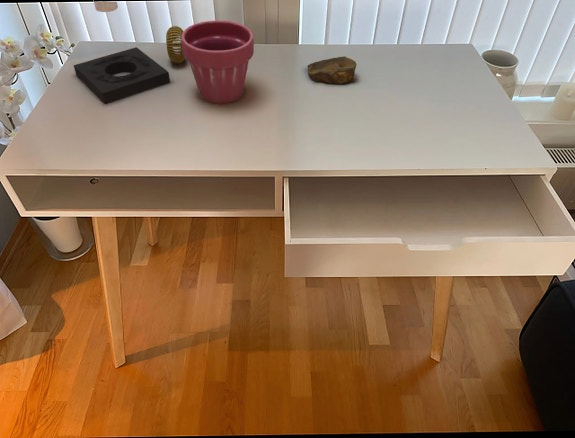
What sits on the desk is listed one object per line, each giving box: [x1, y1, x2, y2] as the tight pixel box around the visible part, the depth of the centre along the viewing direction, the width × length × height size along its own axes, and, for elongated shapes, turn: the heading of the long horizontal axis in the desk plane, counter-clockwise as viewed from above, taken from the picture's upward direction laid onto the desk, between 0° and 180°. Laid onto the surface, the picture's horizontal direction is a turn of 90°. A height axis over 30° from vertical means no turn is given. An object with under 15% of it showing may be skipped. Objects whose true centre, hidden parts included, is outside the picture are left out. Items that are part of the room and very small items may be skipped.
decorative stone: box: [306, 55, 357, 85], centre depth 114 cm, size 10×9×4 cm
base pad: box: [73, 46, 171, 105], centre depth 111 cm, size 15×15×2 cm
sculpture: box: [165, 25, 186, 64], centre depth 116 cm, size 8×4×8 cm, turn 6°
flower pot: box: [181, 20, 255, 104], centre depth 104 cm, size 14×14×13 cm
